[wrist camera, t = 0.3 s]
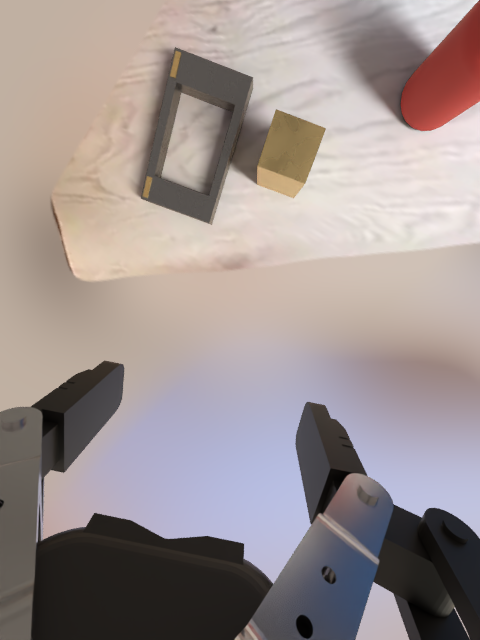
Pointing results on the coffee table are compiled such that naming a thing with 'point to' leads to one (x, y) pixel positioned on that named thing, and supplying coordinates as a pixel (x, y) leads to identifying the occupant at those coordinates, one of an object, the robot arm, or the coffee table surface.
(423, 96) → the beer can
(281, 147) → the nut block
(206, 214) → the grey rectangular frame
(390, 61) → the coffee table surface
